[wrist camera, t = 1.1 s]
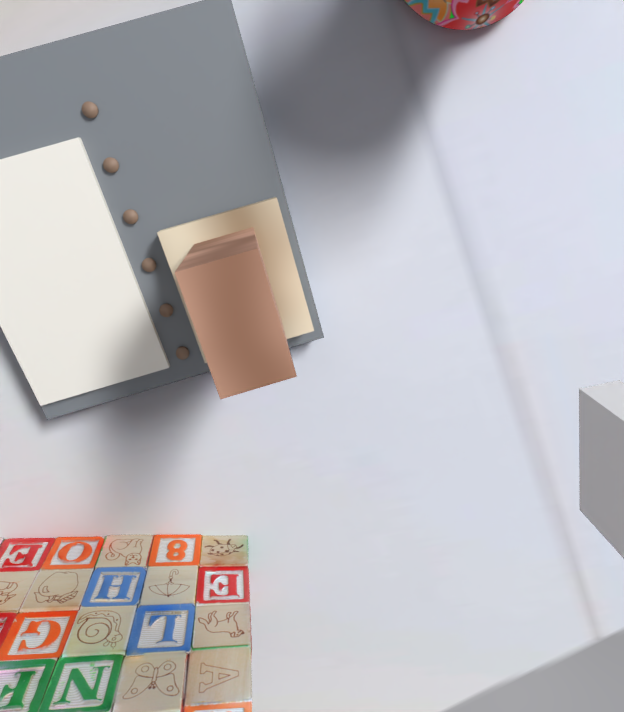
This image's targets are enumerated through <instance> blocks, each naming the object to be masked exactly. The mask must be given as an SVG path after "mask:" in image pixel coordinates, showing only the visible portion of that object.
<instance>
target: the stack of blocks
mask: <svg viewBox="0 0 624 712" xmlns="http://www.w3.org/2000/svg"><path fill="white" fill-rule="evenodd" d="M251 652H252V637H251V611H250V592H249V570H248V537H247V536H246V535H235V536H202V535H107V536H105V537H58V538H56V539H55V538H26V539H24V538H17V539H4V538H0V712H252V681H251Z"/></svg>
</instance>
